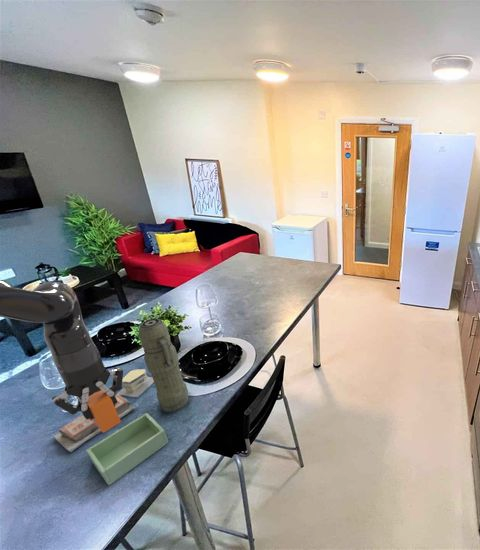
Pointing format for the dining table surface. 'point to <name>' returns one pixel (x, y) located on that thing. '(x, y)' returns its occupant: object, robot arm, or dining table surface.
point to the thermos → (163, 365)
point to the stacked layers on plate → (135, 383)
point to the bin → (127, 447)
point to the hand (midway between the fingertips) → (102, 411)
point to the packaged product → (87, 427)
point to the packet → (103, 411)
